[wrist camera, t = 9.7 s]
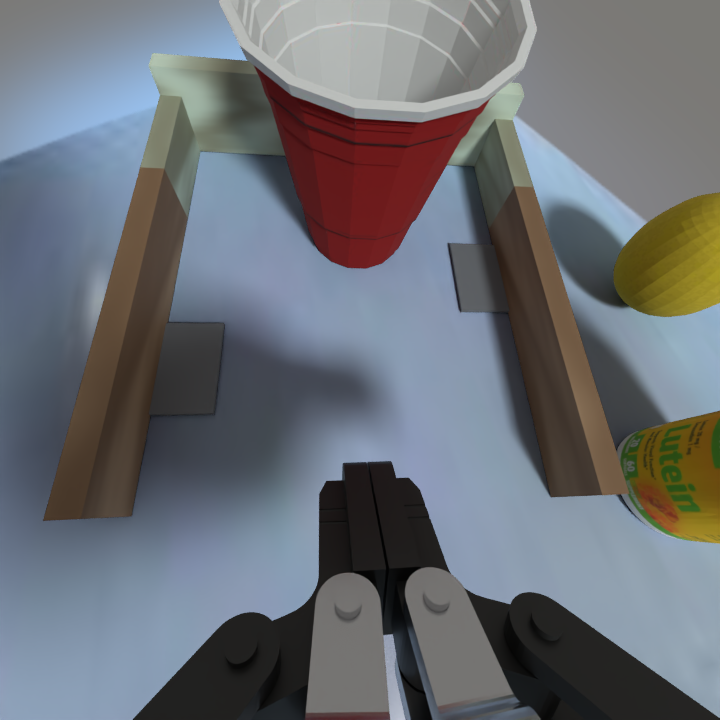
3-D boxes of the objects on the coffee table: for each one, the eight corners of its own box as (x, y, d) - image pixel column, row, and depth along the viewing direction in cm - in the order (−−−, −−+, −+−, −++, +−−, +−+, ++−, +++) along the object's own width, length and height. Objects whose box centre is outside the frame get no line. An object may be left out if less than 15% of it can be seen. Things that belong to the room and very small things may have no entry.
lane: (102, 517, 15) (7, 522, 11) (184, 138, 25) (152, 53, 20) (573, 496, 18) (661, 492, 13) (486, 156, 27) (520, 83, 22)
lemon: (619, 253, 24) (748, 143, 17) (684, 313, 23) (856, 221, 15) (566, 287, 23) (683, 181, 15) (632, 354, 21) (796, 273, 14)
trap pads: (154, 435, 17) (152, 435, 17) (134, 334, 19) (132, 332, 18) (530, 304, 22) (532, 302, 22) (484, 234, 24) (486, 232, 23)
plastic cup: (247, 289, 20) (156, 32, 9) (292, 161, 25) (266, -118, 14) (430, 324, 21) (552, 115, 10) (443, 192, 25) (538, -58, 14)
